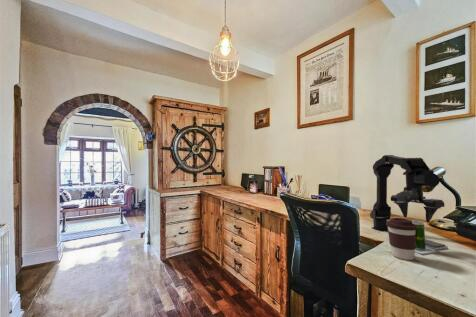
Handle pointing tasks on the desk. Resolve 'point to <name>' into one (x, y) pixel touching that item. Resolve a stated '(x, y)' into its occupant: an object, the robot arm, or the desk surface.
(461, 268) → the desk surface
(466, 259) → the desk surface
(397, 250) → the coffee cup
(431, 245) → the ink pad
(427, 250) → the mat
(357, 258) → the desk surface
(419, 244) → the green soda can
